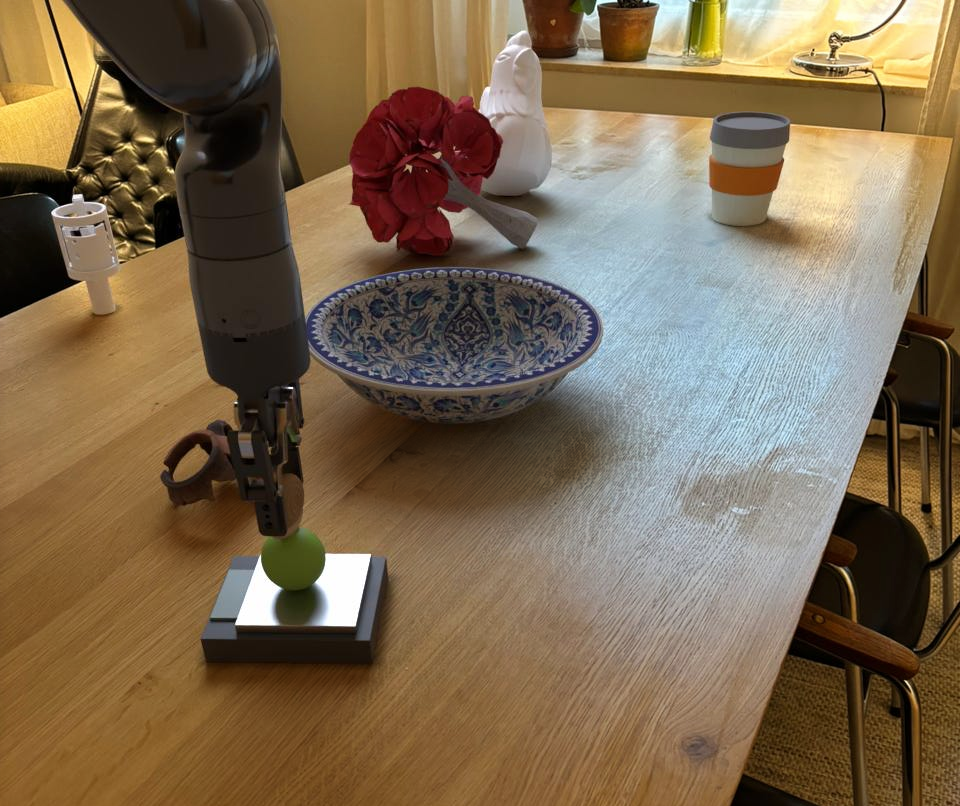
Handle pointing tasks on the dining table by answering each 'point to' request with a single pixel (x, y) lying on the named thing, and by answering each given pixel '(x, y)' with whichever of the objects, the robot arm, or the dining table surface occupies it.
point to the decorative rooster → (517, 120)
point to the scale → (290, 647)
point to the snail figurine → (293, 545)
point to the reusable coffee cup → (745, 165)
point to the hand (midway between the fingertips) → (282, 509)
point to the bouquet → (449, 181)
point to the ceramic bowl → (453, 340)
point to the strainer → (89, 250)
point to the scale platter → (308, 600)
